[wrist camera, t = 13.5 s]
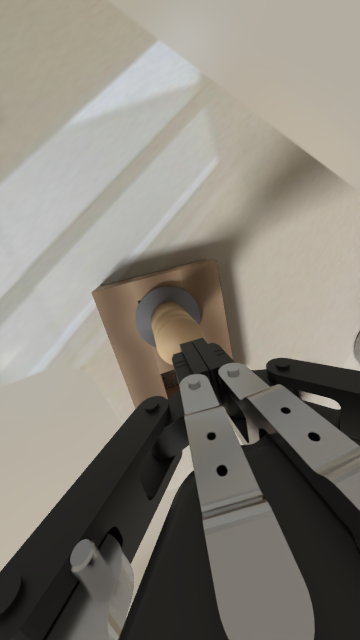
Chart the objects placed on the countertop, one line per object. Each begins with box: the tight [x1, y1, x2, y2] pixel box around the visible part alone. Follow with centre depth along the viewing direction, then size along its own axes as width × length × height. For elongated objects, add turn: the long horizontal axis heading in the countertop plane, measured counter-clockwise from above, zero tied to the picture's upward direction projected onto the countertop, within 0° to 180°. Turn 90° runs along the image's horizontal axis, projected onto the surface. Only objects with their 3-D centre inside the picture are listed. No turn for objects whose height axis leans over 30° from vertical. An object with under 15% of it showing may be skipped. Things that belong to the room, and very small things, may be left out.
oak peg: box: [136, 286, 205, 365], centre depth 21 cm, size 7×7×11 cm
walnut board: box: [92, 259, 233, 408], centre depth 26 cm, size 13×18×4 cm
